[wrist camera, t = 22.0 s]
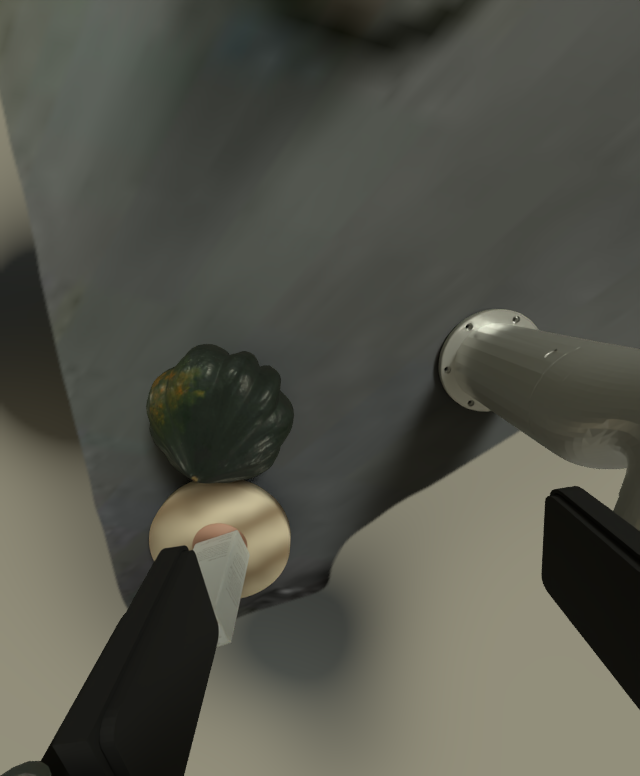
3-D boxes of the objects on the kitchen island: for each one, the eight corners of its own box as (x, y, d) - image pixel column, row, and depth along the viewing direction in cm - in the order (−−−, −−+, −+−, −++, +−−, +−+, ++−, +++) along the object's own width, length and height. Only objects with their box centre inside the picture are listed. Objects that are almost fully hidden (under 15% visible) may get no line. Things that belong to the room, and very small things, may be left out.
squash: (248, 301, 34) (123, 399, 25) (338, 409, 38) (258, 527, 29) (197, 346, 44) (95, 427, 35) (271, 427, 49) (198, 518, 40)
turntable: (317, 541, 47) (319, 591, 39) (221, 607, 50) (205, 666, 42) (226, 450, 42) (208, 486, 35) (126, 528, 45) (89, 578, 37)
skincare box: (209, 566, 45) (174, 665, 33) (194, 540, 43) (152, 633, 32) (252, 552, 44) (233, 647, 33) (238, 525, 43) (213, 614, 31)
